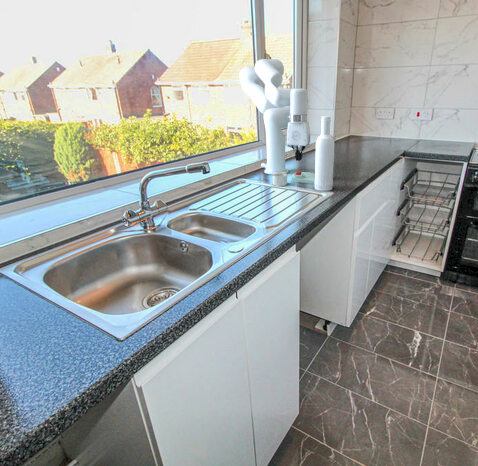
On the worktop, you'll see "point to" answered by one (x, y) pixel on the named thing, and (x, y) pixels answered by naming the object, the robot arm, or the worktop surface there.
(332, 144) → the bottle
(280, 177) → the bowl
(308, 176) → the scale
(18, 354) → the worktop surface
